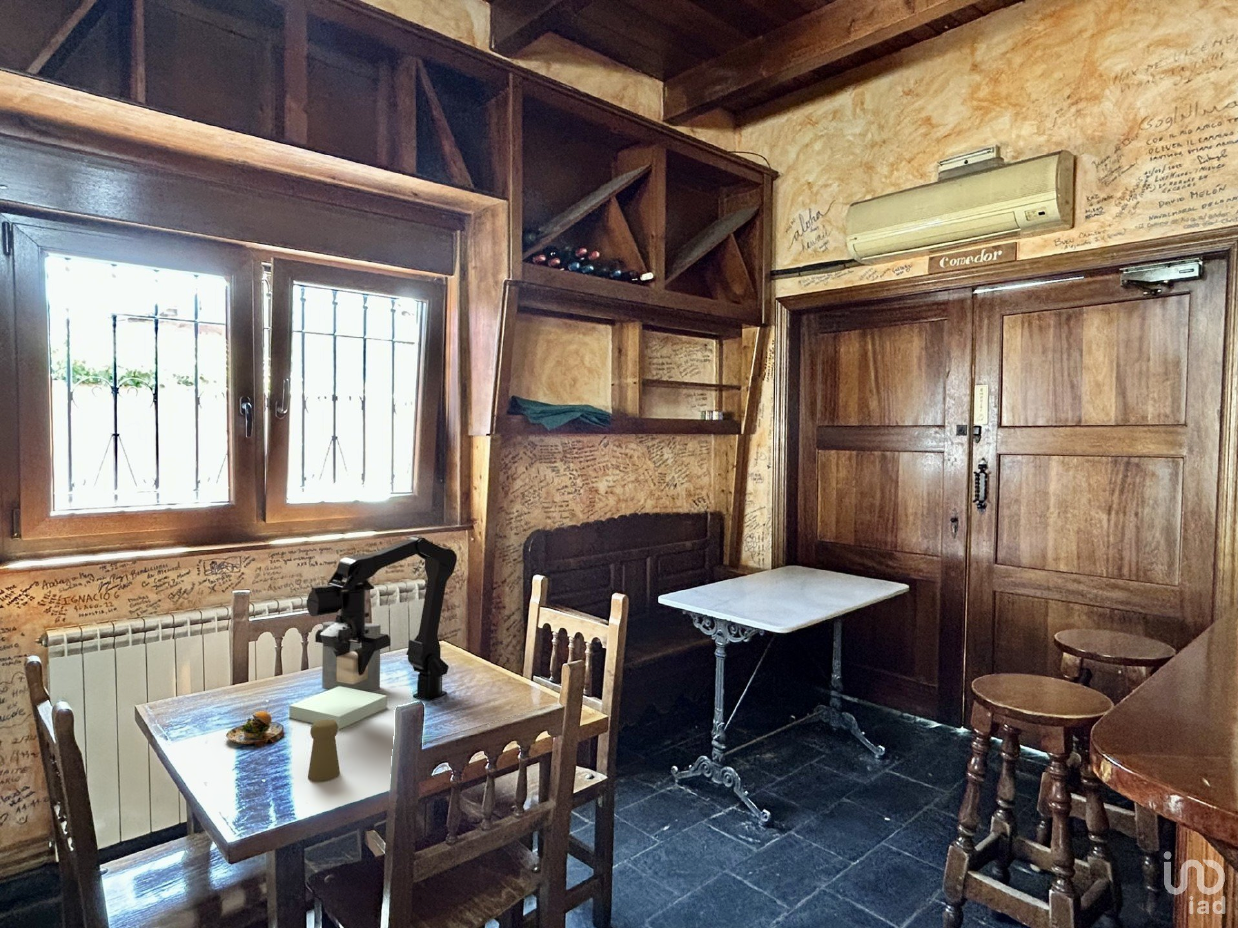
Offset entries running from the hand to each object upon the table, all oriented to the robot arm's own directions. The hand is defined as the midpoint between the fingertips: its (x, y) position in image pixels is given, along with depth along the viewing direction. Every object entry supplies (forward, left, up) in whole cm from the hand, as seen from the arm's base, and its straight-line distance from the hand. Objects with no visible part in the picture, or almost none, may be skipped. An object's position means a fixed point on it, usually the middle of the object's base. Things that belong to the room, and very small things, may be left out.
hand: (352, 673), depth 179 cm
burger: (+19, -11, -12) cm, 24 cm away
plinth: (-1, -6, -11) cm, 12 cm away
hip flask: (-16, -17, -11) cm, 26 cm away
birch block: (0, 0, -2) cm, 2 cm away
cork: (+26, +17, -11) cm, 33 cm away
